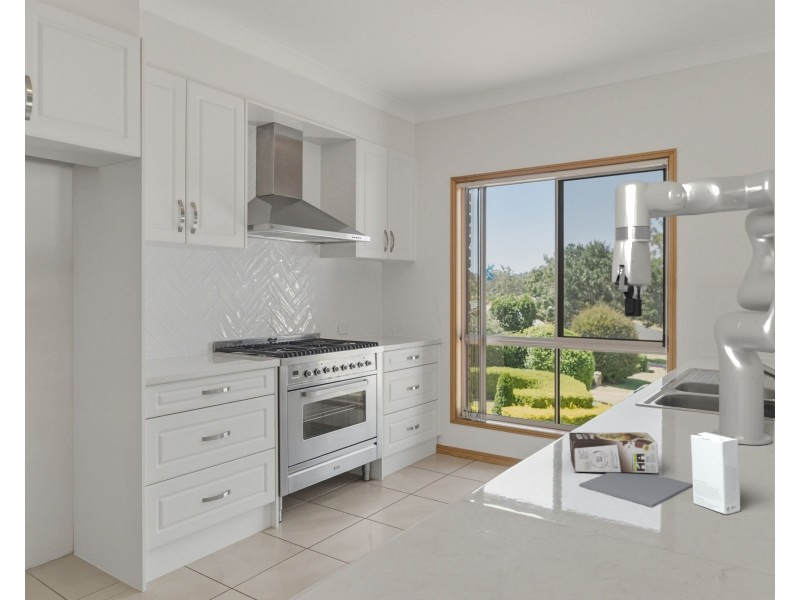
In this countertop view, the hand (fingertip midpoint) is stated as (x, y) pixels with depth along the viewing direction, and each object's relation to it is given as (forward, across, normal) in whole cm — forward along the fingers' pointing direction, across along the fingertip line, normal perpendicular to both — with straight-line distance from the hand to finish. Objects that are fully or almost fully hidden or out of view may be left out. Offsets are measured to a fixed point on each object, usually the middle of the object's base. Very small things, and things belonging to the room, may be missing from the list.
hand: (633, 316), depth 129 cm
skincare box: (+31, +22, +26) cm, 46 cm away
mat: (+31, +22, +12) cm, 40 cm away
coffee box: (+27, +10, +10) cm, 31 cm away
